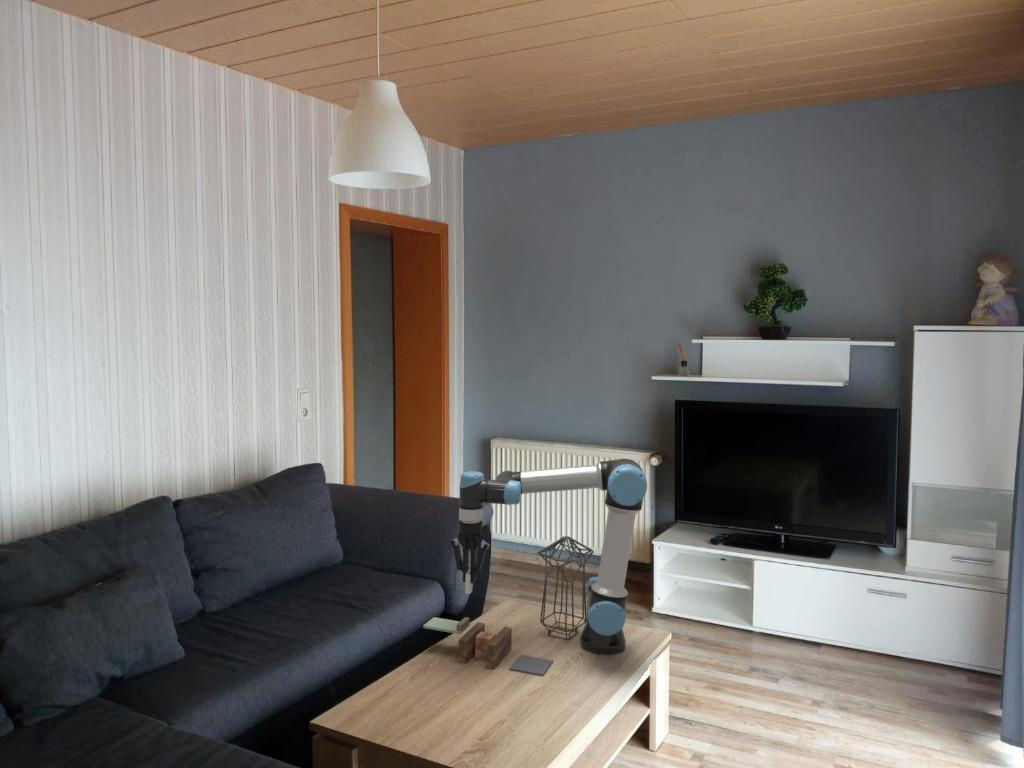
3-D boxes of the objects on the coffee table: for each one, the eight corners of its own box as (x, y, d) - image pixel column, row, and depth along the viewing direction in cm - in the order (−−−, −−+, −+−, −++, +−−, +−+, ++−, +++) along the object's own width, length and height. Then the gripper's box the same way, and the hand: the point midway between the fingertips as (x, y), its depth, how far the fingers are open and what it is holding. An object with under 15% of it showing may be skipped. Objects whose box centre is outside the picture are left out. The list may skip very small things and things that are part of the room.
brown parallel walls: (511, 649, 269) (511, 627, 268) (493, 669, 254) (494, 646, 253) (477, 643, 273) (477, 622, 272) (458, 662, 258) (458, 639, 257)
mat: (553, 662, 261) (553, 660, 261) (543, 676, 250) (543, 674, 250) (520, 656, 264) (520, 654, 264) (509, 670, 254) (509, 668, 254)
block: (495, 654, 265) (495, 633, 264) (489, 660, 260) (490, 639, 260) (480, 652, 267) (481, 631, 266) (475, 658, 262) (475, 636, 261)
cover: (469, 625, 269) (470, 617, 269) (460, 634, 261) (460, 625, 261) (433, 619, 273) (434, 611, 273) (423, 627, 266) (423, 619, 265)
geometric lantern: (592, 632, 286) (597, 535, 282) (571, 648, 273) (575, 546, 269) (553, 621, 295) (557, 526, 291) (530, 636, 281) (534, 537, 277)
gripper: (493, 519, 263) (491, 591, 265) (455, 515, 267) (454, 586, 269) (486, 525, 256) (484, 598, 258) (447, 521, 260) (445, 593, 262)
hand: (468, 592), depth 264 cm, fingers closed
